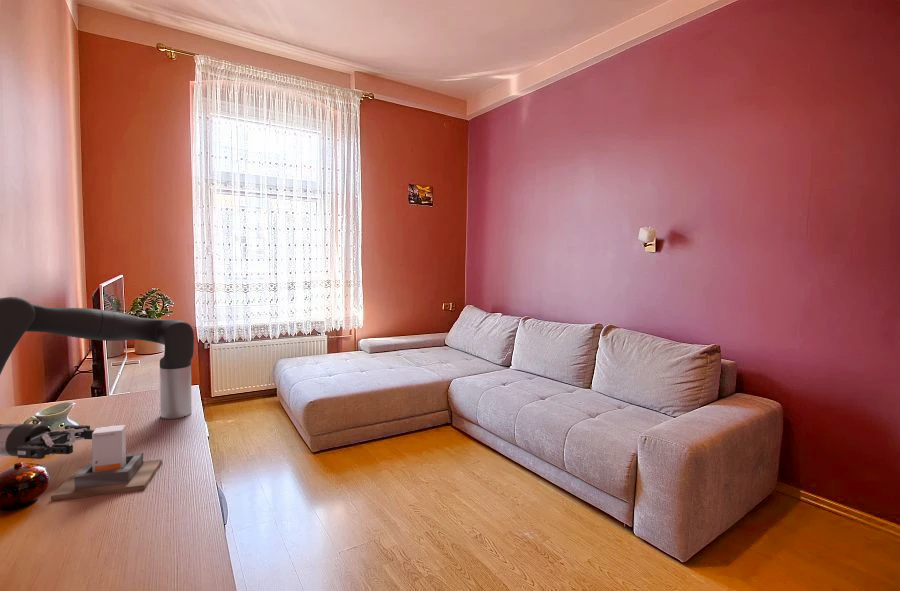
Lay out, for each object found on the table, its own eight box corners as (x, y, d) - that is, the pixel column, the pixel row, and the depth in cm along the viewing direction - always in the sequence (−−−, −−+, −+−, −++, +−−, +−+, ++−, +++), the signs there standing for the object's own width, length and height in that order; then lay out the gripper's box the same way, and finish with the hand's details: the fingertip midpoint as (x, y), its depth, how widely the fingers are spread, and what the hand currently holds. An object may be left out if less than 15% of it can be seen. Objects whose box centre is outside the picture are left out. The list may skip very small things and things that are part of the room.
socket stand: (80, 471, 112) (79, 455, 112) (161, 463, 118) (161, 448, 117) (50, 500, 99) (50, 482, 98) (144, 489, 105) (144, 472, 104)
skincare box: (92, 482, 105) (90, 433, 104) (97, 474, 109) (95, 427, 108) (123, 477, 108) (122, 430, 107) (127, 470, 111) (126, 424, 110)
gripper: (-12, 436, 100) (60, 438, 100) (44, 414, 114) (108, 416, 114) (-11, 468, 100) (61, 470, 101) (46, 442, 115) (109, 444, 115)
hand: (86, 441), depth 107 cm, fingers open, 8 cm apart
